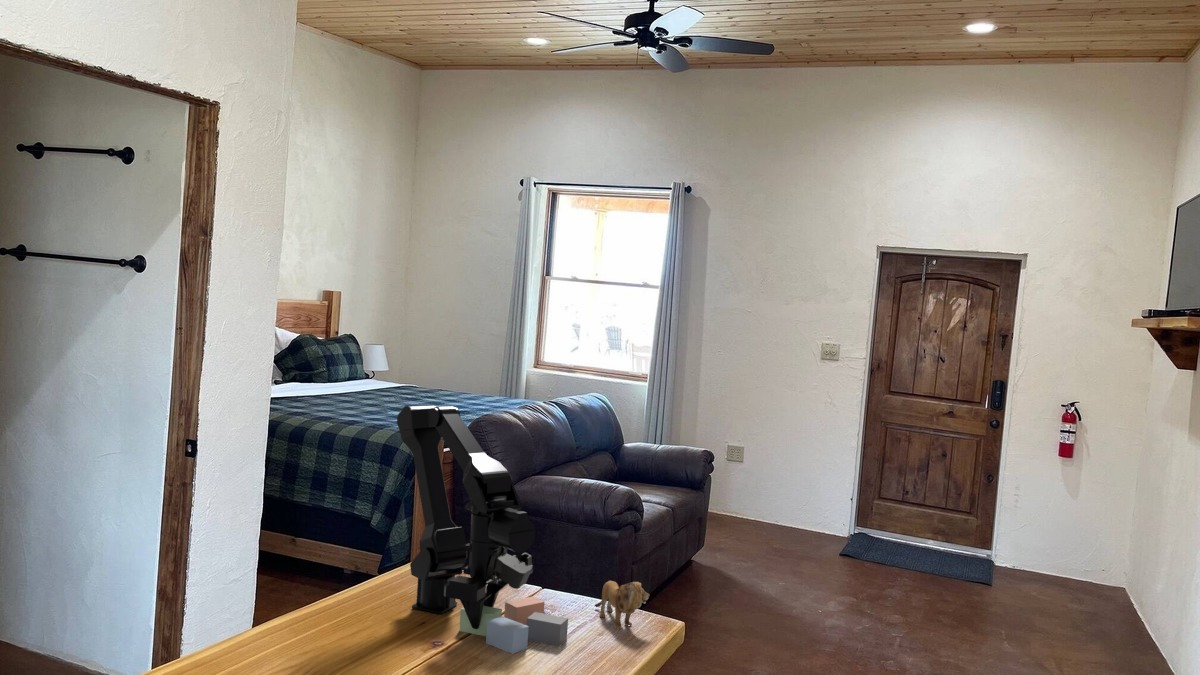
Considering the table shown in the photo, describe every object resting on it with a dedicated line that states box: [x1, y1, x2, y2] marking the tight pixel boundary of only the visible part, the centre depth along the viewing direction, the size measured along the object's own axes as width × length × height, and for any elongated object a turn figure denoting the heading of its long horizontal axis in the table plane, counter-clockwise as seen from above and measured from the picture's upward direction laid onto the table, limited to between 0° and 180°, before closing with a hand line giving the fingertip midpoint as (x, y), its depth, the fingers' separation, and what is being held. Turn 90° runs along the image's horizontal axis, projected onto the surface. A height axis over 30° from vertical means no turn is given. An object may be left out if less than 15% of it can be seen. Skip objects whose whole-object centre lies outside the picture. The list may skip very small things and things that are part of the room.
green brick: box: [458, 606, 503, 637], centre depth 166 cm, size 6×4×4 cm, turn 71°
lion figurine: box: [594, 580, 650, 629], centre depth 176 cm, size 15×5×9 cm, turn 34°
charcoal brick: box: [527, 612, 569, 647], centre depth 164 cm, size 6×4×4 cm, turn 71°
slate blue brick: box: [485, 616, 529, 655], centre depth 160 cm, size 6×4×4 cm, turn 51°
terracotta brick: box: [503, 595, 546, 625], centre depth 172 cm, size 6×4×4 cm, turn 131°
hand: (480, 625), depth 166 cm, fingers closed on green brick, 4 cm apart
